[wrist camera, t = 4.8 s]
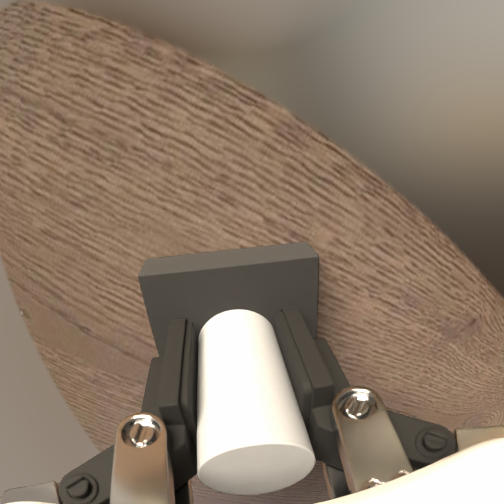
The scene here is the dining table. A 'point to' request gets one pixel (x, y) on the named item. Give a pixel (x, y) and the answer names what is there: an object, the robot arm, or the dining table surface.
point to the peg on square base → (240, 357)
